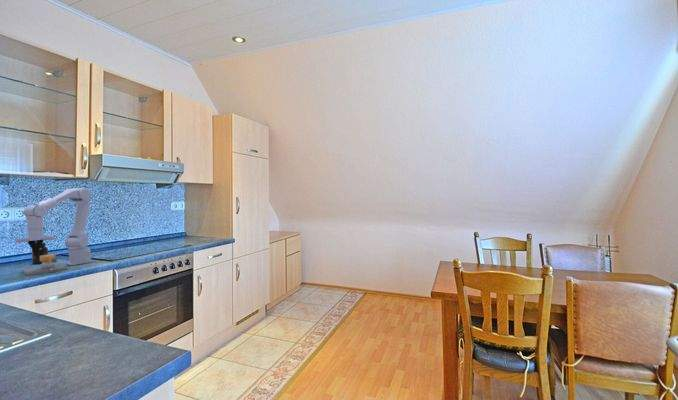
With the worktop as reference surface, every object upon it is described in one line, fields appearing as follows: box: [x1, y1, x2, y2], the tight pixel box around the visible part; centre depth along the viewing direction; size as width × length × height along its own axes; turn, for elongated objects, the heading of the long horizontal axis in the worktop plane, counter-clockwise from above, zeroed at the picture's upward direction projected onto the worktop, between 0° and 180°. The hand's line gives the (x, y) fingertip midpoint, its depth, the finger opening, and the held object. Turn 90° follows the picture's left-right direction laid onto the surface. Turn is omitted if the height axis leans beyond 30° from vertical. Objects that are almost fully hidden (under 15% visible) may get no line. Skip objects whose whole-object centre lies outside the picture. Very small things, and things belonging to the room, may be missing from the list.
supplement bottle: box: [31, 242, 49, 265], centre depth 181 cm, size 7×7×12 cm
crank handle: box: [40, 253, 58, 264], centre depth 162 cm, size 14×6×3 cm, turn 58°
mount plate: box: [21, 261, 68, 277], centre depth 163 cm, size 15×14×5 cm
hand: (36, 255), depth 157 cm, fingers closed
